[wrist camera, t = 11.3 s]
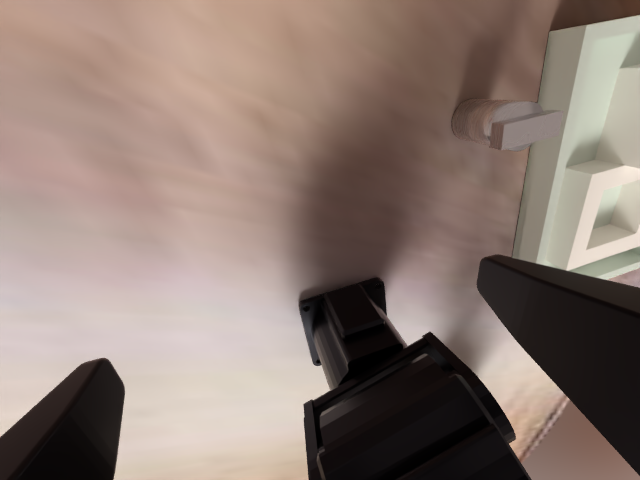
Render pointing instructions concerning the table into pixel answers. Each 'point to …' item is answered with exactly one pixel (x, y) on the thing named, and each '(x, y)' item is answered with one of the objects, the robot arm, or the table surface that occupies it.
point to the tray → (576, 133)
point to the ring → (603, 186)
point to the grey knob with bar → (505, 123)
